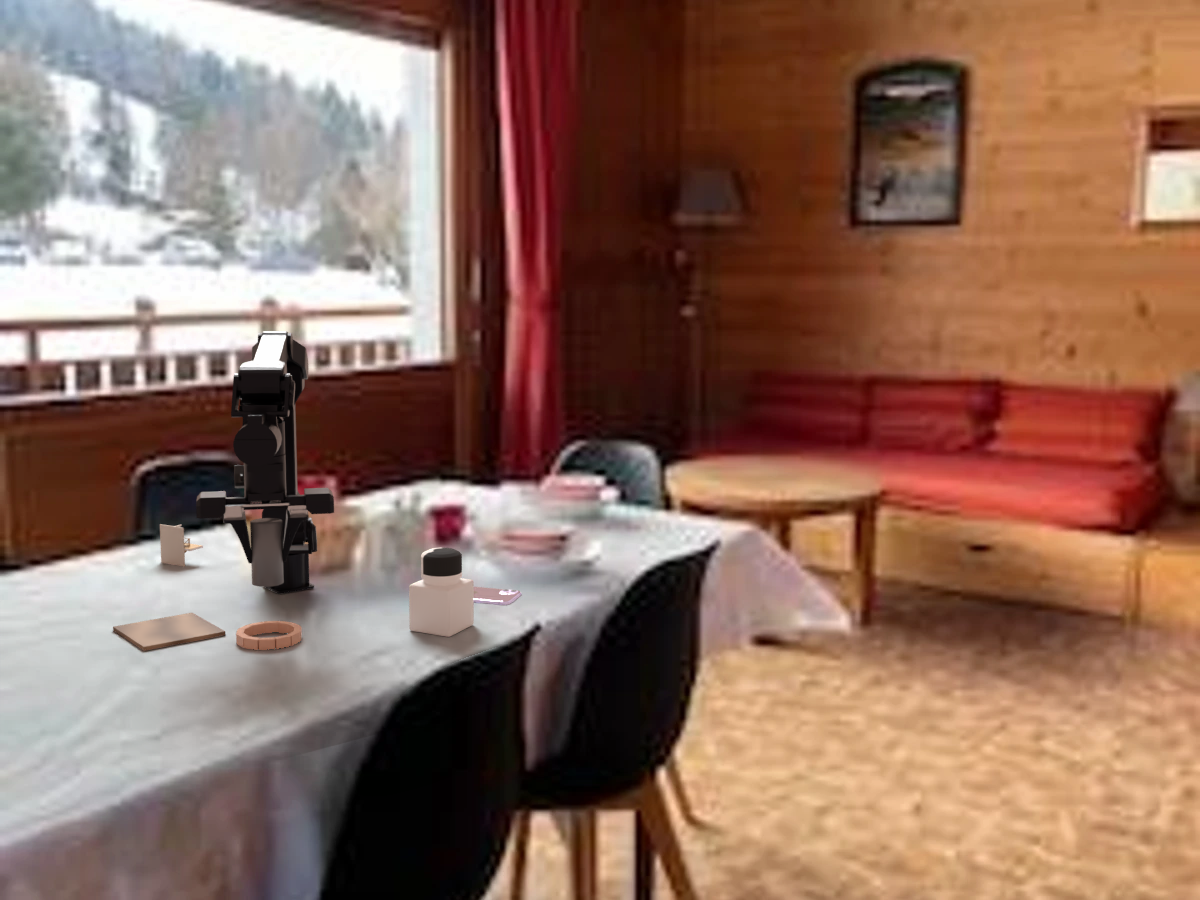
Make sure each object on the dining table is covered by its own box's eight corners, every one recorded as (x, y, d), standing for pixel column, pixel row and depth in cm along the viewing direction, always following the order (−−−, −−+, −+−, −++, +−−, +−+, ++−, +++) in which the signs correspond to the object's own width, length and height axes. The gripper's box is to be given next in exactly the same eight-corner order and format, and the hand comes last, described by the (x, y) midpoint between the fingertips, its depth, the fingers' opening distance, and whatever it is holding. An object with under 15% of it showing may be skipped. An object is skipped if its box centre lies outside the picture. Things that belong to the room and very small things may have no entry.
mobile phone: (439, 581, 215) (523, 589, 211) (439, 587, 215) (523, 595, 211) (421, 593, 208) (508, 601, 204) (421, 599, 208) (508, 607, 204)
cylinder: (275, 577, 186) (273, 516, 184) (289, 583, 182) (287, 522, 181) (246, 581, 183) (244, 520, 181) (260, 588, 180) (258, 525, 178)
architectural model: (174, 561, 230) (173, 520, 229) (203, 565, 227) (202, 525, 226) (160, 565, 227) (158, 524, 226) (189, 570, 224) (187, 528, 223)
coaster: (192, 616, 195) (192, 612, 195) (225, 635, 186) (225, 631, 186) (113, 630, 187) (113, 626, 187) (143, 651, 178) (143, 646, 178)
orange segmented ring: (283, 627, 190) (283, 617, 190) (312, 641, 184) (312, 631, 183) (226, 638, 185) (226, 628, 184) (254, 654, 178) (253, 643, 178)
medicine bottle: (474, 625, 193) (474, 547, 191) (449, 637, 187) (449, 558, 185) (434, 618, 196) (433, 542, 194) (408, 631, 190) (407, 552, 188)
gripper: (328, 443, 190) (330, 546, 192) (197, 447, 185) (200, 551, 187) (333, 455, 179) (335, 563, 182) (194, 459, 174) (198, 570, 177)
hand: (267, 561), depth 182 cm, fingers closed on cylinder, 4 cm apart
